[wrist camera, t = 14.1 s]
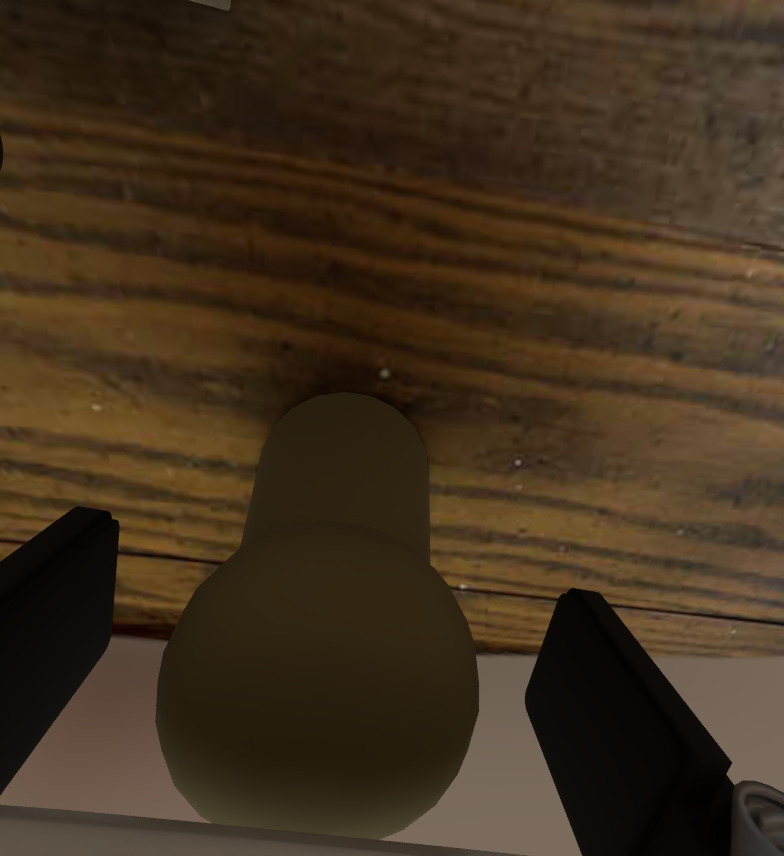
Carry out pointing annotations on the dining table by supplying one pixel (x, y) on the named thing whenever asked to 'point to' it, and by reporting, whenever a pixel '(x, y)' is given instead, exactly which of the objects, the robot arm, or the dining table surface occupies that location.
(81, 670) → the robot arm
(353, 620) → the olive rounded figure
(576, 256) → the dining table surface
